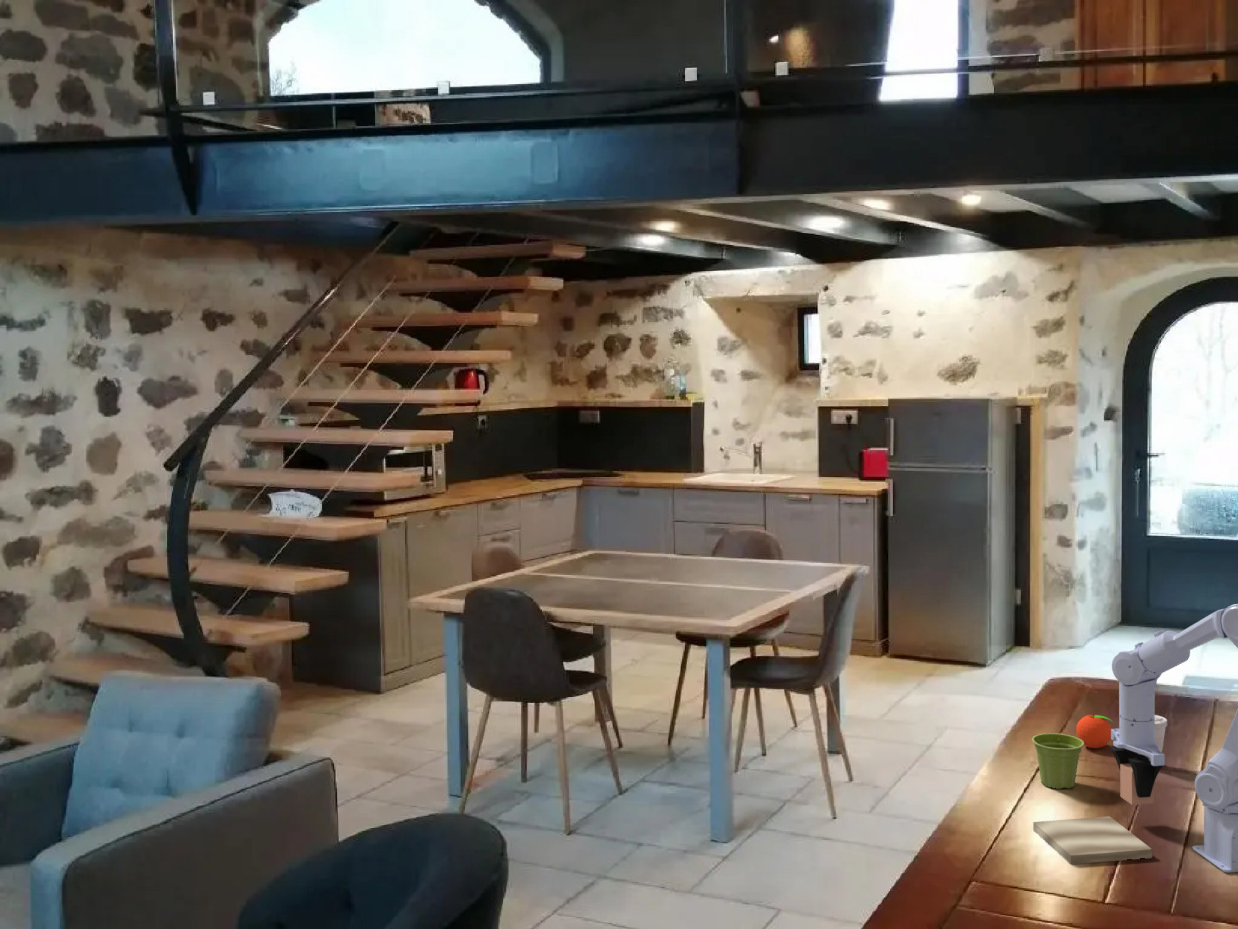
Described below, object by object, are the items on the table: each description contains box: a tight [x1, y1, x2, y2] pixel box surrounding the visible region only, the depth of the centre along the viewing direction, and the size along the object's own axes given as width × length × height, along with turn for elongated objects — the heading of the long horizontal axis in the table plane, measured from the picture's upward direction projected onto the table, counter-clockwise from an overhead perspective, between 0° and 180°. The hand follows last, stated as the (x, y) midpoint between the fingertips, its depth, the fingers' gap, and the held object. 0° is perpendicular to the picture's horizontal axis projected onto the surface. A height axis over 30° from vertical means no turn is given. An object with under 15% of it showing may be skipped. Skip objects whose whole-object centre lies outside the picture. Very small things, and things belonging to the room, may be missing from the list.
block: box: [1119, 763, 1155, 806], centre depth 208 cm, size 4×4×6 cm
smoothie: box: [1155, 714, 1168, 753], centre depth 235 cm, size 6×6×14 cm
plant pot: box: [1031, 732, 1085, 790], centre depth 227 cm, size 9×9×9 cm
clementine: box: [1075, 714, 1118, 749], centre depth 247 cm, size 8×7×7 cm
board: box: [1033, 816, 1153, 865], centre depth 200 cm, size 14×14×2 cm
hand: (1137, 791), depth 208 cm, fingers closed on block, 4 cm apart
